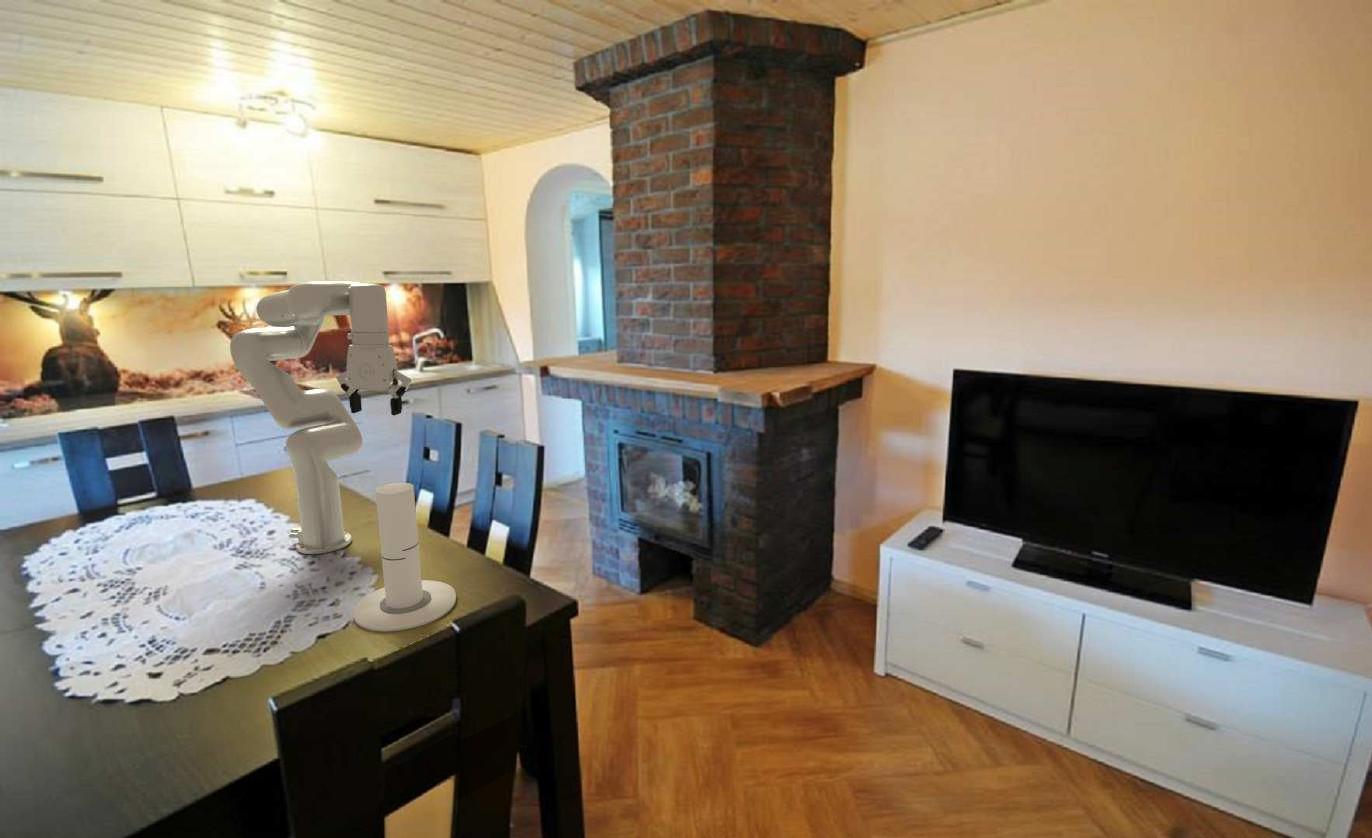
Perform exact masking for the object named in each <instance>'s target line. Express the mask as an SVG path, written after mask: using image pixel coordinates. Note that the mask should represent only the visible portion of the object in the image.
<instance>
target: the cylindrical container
mask: <svg viewBox="0 0 1372 838" xmlns="http://www.w3.org/2000/svg"><path fill="white" fill-rule="evenodd" d="M414 487H415V486H414V484H412V483H408V482H394V483H388V484H383V485H381V486H378V487H377V488H375V502H376V513H377V514H376V515H377V522H378V532H379V541H380V542H379V545H380V552H381V553H380V555H381V563H382V574H383V582H384V587H385V596H386V604H387V606H388V607H391V608H406V607H410V606H413V605H415V604H417V603H419V602H420V601H421V600H422V598H423V593H422V581H421V580H422V570H421V561H420V560H421V558H420V546H419V536H418V535H419V534H418V523H417V513H416V510H417V509H416V501H415V500H416V499H415V498H416V497H415V488H414Z"/></svg>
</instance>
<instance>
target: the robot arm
mask: <svg viewBox="0 0 1372 838" xmlns="http://www.w3.org/2000/svg"><path fill="white" fill-rule="evenodd" d="M255 308H256V314H257V317H258V318H259V320H261V321H262V322H263V323H265V324H266V325H267V326H270V327H258V328H256V327H255V328H248V329H244V330H241V331H239V332H237V333H235V334H234V335H233V336H232V338H231V339H230V342H229V343H230V344H229V351H230V356H231V360H232V361H233V364H234V366H235V367H236V369H237V371H238V372H239V373H240V375H241V376H243V378H244V379H245V380H246V381H247V382H248V383H249V384H250V385H251V386H252V387H253V388H254V390H255V391H256V392H257V394H258V395H259V397H260V399H261V400H262V402H263V404H264V405H265V407H266V409H267V410H268V412H269V414H270V415H271V416H272V418H273V420H274V421H275V423H276V424H277V425H278V426H279V427H280V428H282V429H283V430H286V431H291V430H292V431H294V430H295V431H294V432H292V433H291V434H290V435H289V436H288V437H287V439H286V442H285V448H286V454H287V456H288V458H289V462H290V465H291V468H292V472H293V477H294V483H295V490H296V497H297V498H296V499H297V506H298V515H299V523H300V527H292V528H291V529H290V532H289V534H288V537H289V538H290V539H297V540H298V542H297V543H296V545H295V547H296V551H297V552H298V553H300V554H305V555H319V554H326V553H327V554H328V553H331V552H334V551H338V550H340V549H342V548H345V547H347V546H348V545H349V544H351V543H352V541H353V539H352V534H350V533H349V532H347V531H345V528H344V527H345V526H344V519H343V518H344V517H343V509H342V508H343V507H342V499H341V492H340V491H341V489H340V482H339V477H338V475H337V473H336V472H335V471H334V470H333V469H332V468H331V467H330V466H329V465H328V463H329V462H332V461H335V460H338V459H343V458H346V457H350V456H353V455H355V454H357V453H358V452H359V451H361V449H362V446H363V437H362V434H361V431H360V429H359V428H358V425H357V423H356V422H355V420H354V419H353V417H352V415H351V414H356V413H360V412H361V411H362V410H363V408H362V396H361V394H360V393H359V392H360V391H361V390H362V391H382V392H383V391H387V392H388V393H389V394H390V396H391V398H390V413H391V416H397V415H399V414H401V413H402V409H403V402H402V401H403V398H402V397H404V395H405V393H407V392H408V391H409V387H410V385H411V383H412V379H411V377H408V376H406V375H405V374H403V373H401V372H399V370H398V364H397V358H396V354H395V350H394V348H393V345H392V344H391V345H390V332H389V331H390V330H389V320H388V319H389V318H388V306H387V292H386V288H385V287H384V286H383V285H381V284H378V283H362V282H358V281H333V280H332V281H329V280H326V281H324V280H323V281H322V280H321V281H309V282H304V283H303V282H302V283H299V284H294V285H292V286H290V288H289V289H287V290H283V291H282V290H281V291H278V292H273V293H269V294H267V295H264V296H263V297H262V298H261V299H260V300H259V301H258V302H257V305H256V307H255ZM330 316H331V317H332V316H349V317H350V320H349V321H350V329H351V331H350V333H347V334H346V338H347V340H351V344H349V345H348V349H347V356H346V371H344V372H342V373H340V374H338V375H337V376H336V380H337V382H338V383H339V385H340V388H341V389H342V390H343V392H345V395H346V396H347V397H348V401H349V408H350V413H351V414H350V413H349V411H348V409H347V408H346V406H345V405H344V403H343V402H342V400H341V399H340V397H339V396H338V395H337V394H336V393H335V392H333V391H331V390H330V389H326V388H313V389H308V390H304V389H301V388H300V387H299V386H298V385H297V384H296V382H295V379H294V378H293V377H292V376H291V375H290V374H289V373H288V372H287V371H285V370H284V369H282V368H281V367H279V366H277V365H276V364H274V363H272V362H273V361H281V360H282V361H283V360H295V359H300V358H304V357H306V356H307V355H308V354H309V353H310V352H311V350H312V348H313V346H314V344H315V341H316V339H317V337H318V336H319V335H318V334H319V332H320V329H321V328H322V325H323V323H324V320H325V317H330ZM399 381H400V382H401V386H400V387H399Z"/></svg>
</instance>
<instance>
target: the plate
mask: <svg viewBox="0 0 1372 838" xmlns="http://www.w3.org/2000/svg"><path fill="white" fill-rule="evenodd" d="M421 581H422V593H423V598H422V600H421V601H420V602H419V603H417V604H415V605H413V606H410V607H406V608H391V607H388V606H387V604H386V596H385V586H384V587H382V588H379V589H377V590H374V591H373V592H371V593H369V594H367V595H366V596H364V597H362V598H361V599H360V600H359V601H358V602H357V603H356V604H355V606H354V608H353V611H352V615H353V621H354V623H355V624H356V625H357V626H358V627H360V628H362V629H363V630H367V631H373V632H381V633H382V632H383V633H385V632H389V633H390V632H399V631H406V630H411V629H414V628H415V629H416V628H419V627H422V626H425V625H427V624H430V623H432V622H435V621H436V620H438V619H440V618H442V617H443V616H446V615H447V614H448V613H449V612H450V611H451V610H452V609H453V608H454V606H455V605H456V601H457V594H456V590H455V588H453V587H452V586H451V585H449V584H448V583H446V582H442V581H439V580H438V581H437V580H428V579H427V580H425V579H421Z"/></svg>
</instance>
